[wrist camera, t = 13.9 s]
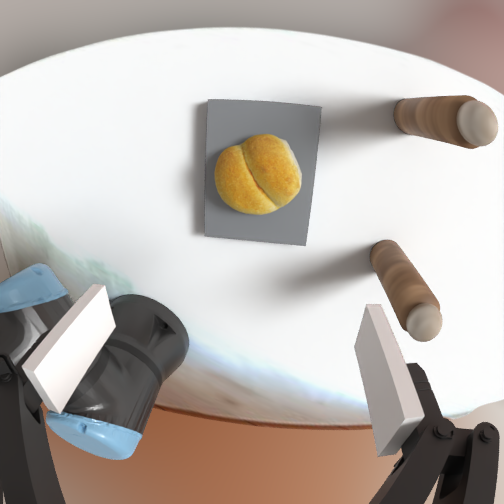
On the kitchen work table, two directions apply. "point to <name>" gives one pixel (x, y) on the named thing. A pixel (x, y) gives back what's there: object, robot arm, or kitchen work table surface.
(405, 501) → the robot arm
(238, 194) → the bread roll
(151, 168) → the kitchen work table surface
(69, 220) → the kitchen work table surface
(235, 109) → the slate board
